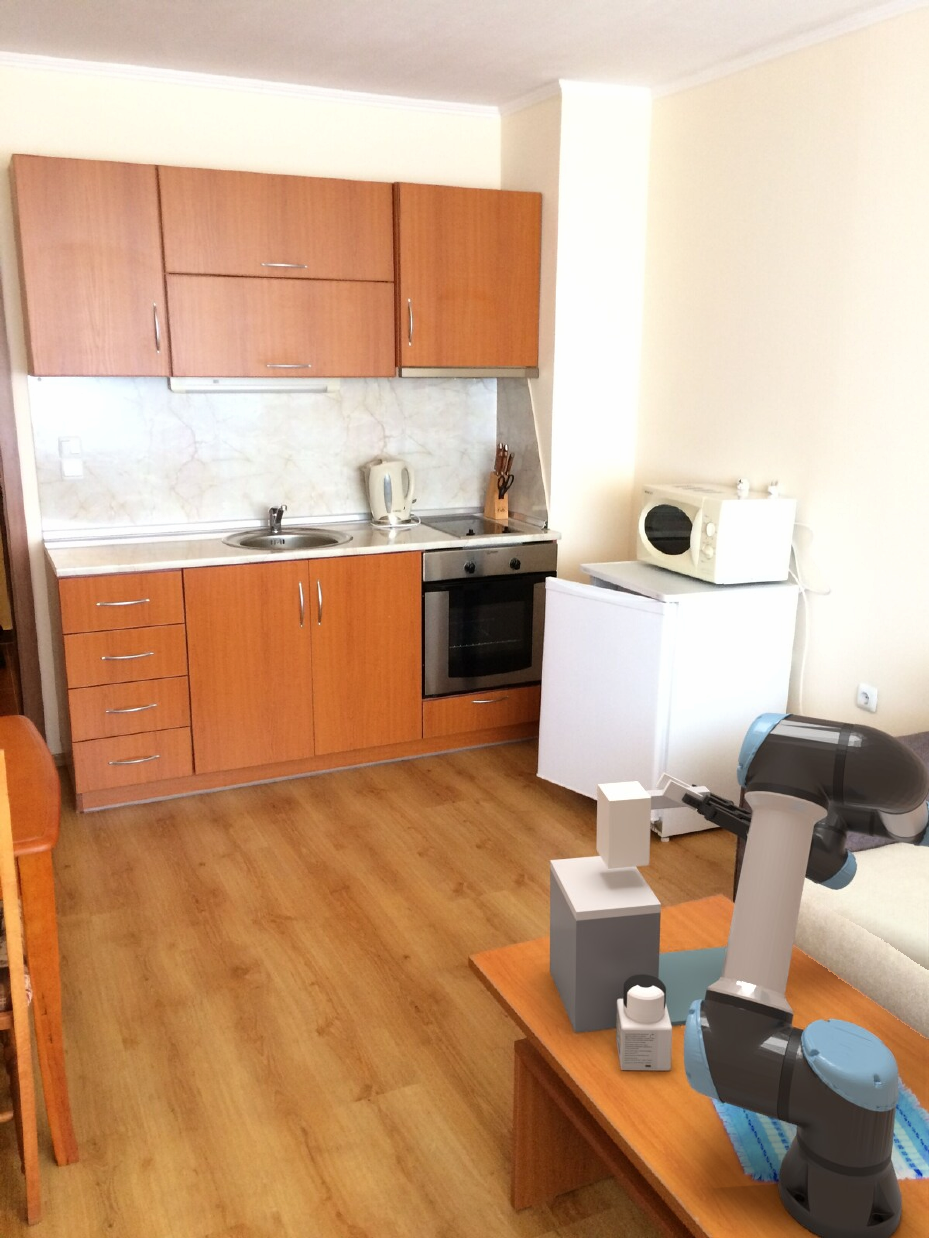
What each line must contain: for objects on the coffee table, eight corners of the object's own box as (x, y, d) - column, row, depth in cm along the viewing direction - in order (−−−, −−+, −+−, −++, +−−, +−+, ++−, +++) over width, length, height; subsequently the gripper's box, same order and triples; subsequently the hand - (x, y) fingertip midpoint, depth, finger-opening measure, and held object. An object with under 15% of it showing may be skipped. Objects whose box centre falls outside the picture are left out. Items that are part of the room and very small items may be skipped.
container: (615, 1039, 169) (617, 968, 166) (663, 1039, 168) (666, 968, 165) (620, 1070, 161) (622, 997, 158) (671, 1071, 161) (673, 997, 158)
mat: (734, 949, 194) (734, 945, 194) (781, 1013, 175) (782, 1009, 174) (630, 959, 191) (630, 956, 191) (667, 1026, 172) (667, 1022, 172)
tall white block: (697, 840, 180) (699, 776, 177) (712, 859, 173) (715, 792, 170) (596, 849, 177) (597, 784, 174) (608, 868, 171) (609, 800, 168)
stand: (624, 963, 190) (627, 853, 184) (657, 1023, 172) (661, 904, 167) (549, 971, 188) (550, 860, 182) (575, 1032, 170) (576, 912, 165)
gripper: (783, 878, 171) (667, 822, 165) (744, 836, 186) (637, 784, 180) (807, 839, 170) (691, 782, 164) (766, 801, 185) (658, 747, 179)
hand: (663, 783), depth 172 cm, fingers closed on tall white block, 2 cm apart
